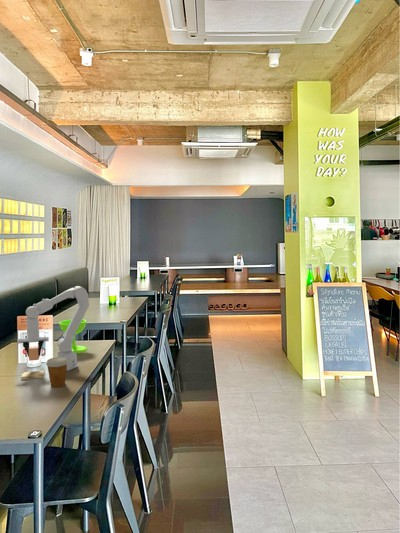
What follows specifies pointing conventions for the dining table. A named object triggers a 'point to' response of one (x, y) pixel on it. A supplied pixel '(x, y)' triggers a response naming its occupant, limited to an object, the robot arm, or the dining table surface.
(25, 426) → the dining table surface
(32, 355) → the terracotta block
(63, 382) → the disposable coffee cup
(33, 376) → the birch board
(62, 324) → the wineglass
